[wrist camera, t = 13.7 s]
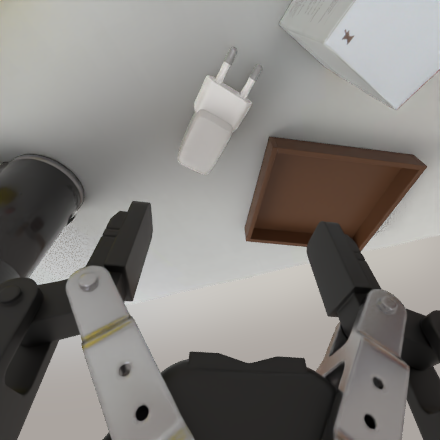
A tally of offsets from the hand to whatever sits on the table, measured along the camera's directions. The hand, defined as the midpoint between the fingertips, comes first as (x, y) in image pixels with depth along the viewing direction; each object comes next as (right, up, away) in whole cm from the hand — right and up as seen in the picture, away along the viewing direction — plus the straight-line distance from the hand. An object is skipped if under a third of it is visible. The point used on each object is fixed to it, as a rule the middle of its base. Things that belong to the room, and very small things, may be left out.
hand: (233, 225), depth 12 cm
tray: (+13, +4, +23) cm, 26 cm away
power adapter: (-1, +13, +15) cm, 20 cm away
